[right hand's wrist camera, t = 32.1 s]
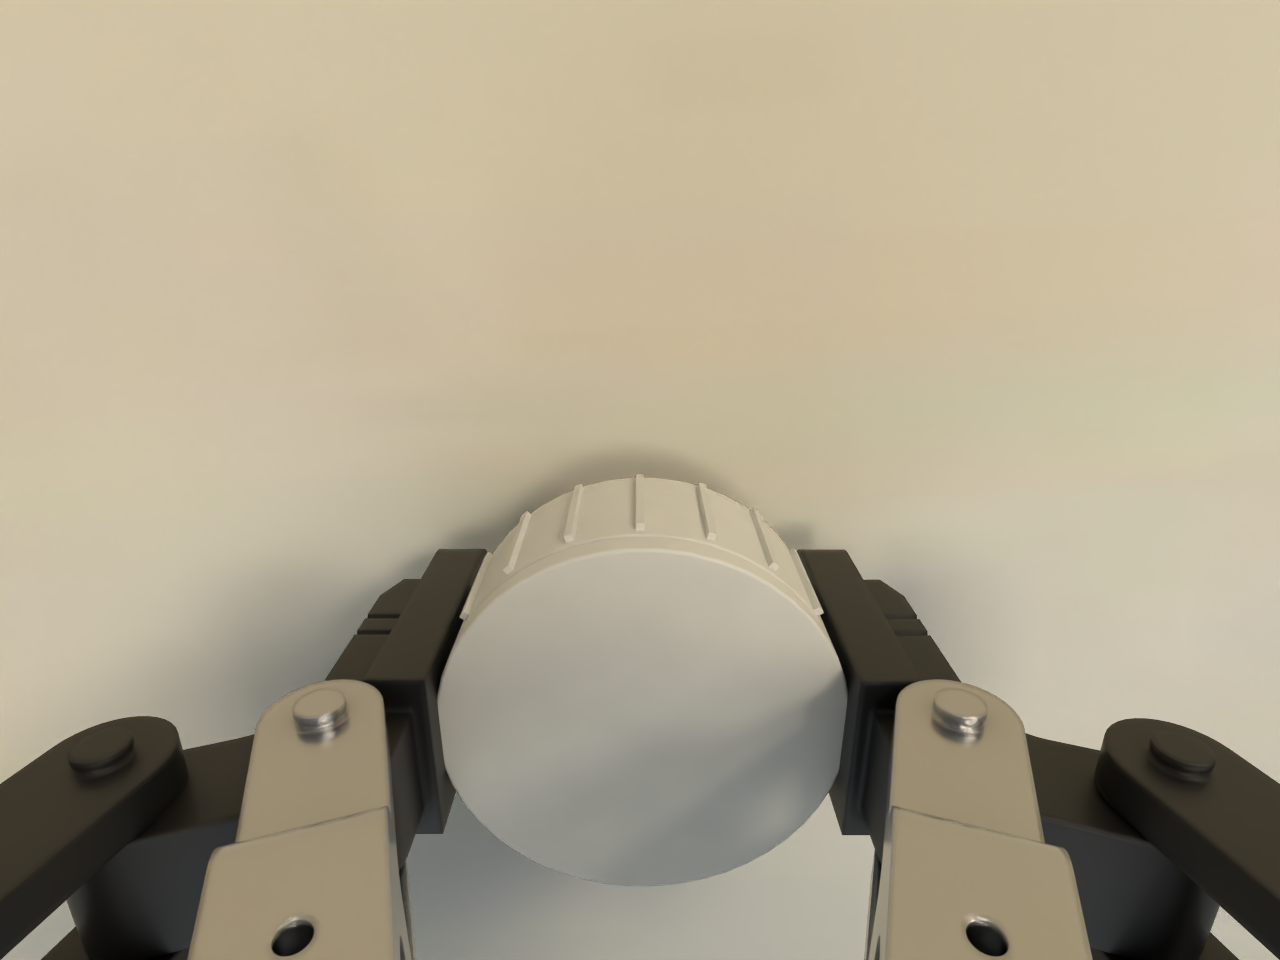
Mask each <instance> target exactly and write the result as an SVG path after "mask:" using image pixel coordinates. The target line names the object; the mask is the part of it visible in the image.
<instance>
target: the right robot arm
mask: <svg viewBox="0 0 1280 960" xmlns="http://www.w3.org/2000/svg"><path fill="white" fill-rule="evenodd" d="M797 553H798V555H799V557H800V560H801V562H802V564H803V566H804V569H805V571H806V573H807V576H808V578H809V580H810V582H811V585H812V587H813V589H814V591H815V594H816V596H817V598H818V601H819V603H820V605H821V607H822V610H823V612H824V613H823V614H821V615H820V617H821V619H822V621H823V624H824V626H825V628H826V631H827V633H828V635H829V638H830V640H831V643H832V645H833V647H834V649H835V652H836V654H837V656H838V659H839V662H840V664H841V667H842V670H843V673H844V676H845V678H846V683H847V688H848V699H847V709H846V717H845V725H844V733H843V742H842V750H841V758H840V766H839V772H838V775H837V777H836V779H835V781H834V783H833V785H832V787H831V789H830V791H829V795H830V798H831V801H832V804H833V807H834V811H835V814H836V817H837V820H838V823H839V826H840V829H841V833H842V835H870V836H871V839H872V842H873V845H874V848H875V853H874V860H873V867H872V874H871V884H870V895H869V907H868V919H867V930H866V942H865V954H864V960H1239V959H1238V958H1237V957H1236V956H1235V955H1234V954H1233V953H1231V952H1230V951H1229V950H1228V949H1227V948H1226V947H1225V946H1224V945H1223V944H1222V943H1221V942H1220V941H1219V940H1218V939H1217V938H1216V937H1215V936H1214V935H1213V934H1212V933H1211V932H1210V931H1211V928H1212V925H1213V923H1214V920H1215V917H1216V914H1217V912H1218V909H1219V906H1221V907H1222V908H1223V909H1224V910H1225V911H1226V912H1228V913H1229V914H1230V915H1231V916H1232V917H1233V918H1234V919H1235V920H1236V921H1237V922H1239V923H1240V924H1241V925H1242V926H1243V927H1244V928H1245V929H1246V930H1247V931H1248V932H1250V933H1251V934H1252V935H1253V936H1254V937H1255V938H1256V939H1257V940H1258V941H1259V942H1261V943H1262V944H1263V945H1264V946H1265V947H1266V948H1267V949H1268V950H1269V951H1270V952H1272V953H1273V954H1274V955H1275V956H1276V957H1277V958H1278V959H1279V960H1280V784H1279V783H1277V782H1276V781H1275V780H1273V779H1272V778H1270V777H1269V776H1267V775H1266V774H1265V773H1263V772H1262V771H1260V770H1259V769H1257V768H1256V767H1255V766H1253V765H1252V764H1250V763H1249V762H1247V761H1246V760H1245V759H1243V758H1242V757H1240V756H1239V755H1237V754H1236V753H1235V752H1233V751H1232V750H1230V749H1229V748H1227V747H1226V746H1224V745H1222V744H1221V743H1219V742H1217V741H1215V740H1214V739H1212V738H1210V737H1208V736H1206V735H1204V734H1201V733H1199V732H1197V731H1195V730H1192V729H1189V728H1186V727H1183V726H1180V725H1177V724H1173V723H1170V722H1165V721H1160V720H1154V719H1144V718H1134V719H1125V720H1122V721H1118V722H1116V723H1114V724H1112V725H1111V726H1110V727H1109V728H1108V729H1107V731H1106V733H1105V736H1104V739H1103V743H1102V747H1101V751H1099V750H1094V749H1089V748H1085V747H1080V746H1075V745H1070V744H1065V743H1061V742H1056V741H1051V740H1047V739H1043V738H1039V737H1035V736H1032V735H1029V734H1026V733H1025V729H1024V726H1023V723H1022V721H1021V719H1020V717H1019V716H1018V714H1017V713H1016V712H1015V711H1014V710H1013V709H1012V708H1011V707H1010V706H1009V705H1008V704H1007V703H1006V702H1004V701H1003V700H1001V699H1000V698H998V697H997V696H995V695H993V694H991V693H989V692H988V691H985V690H983V689H981V688H978V687H975V686H972V685H969V684H966V683H962V682H961V681H960V680H959V678H958V677H957V675H956V674H955V672H954V671H953V669H952V668H951V666H950V665H949V663H948V662H947V660H946V659H945V657H944V656H943V654H942V653H941V651H940V650H939V648H938V647H937V645H936V644H935V642H934V641H933V639H932V638H931V636H930V635H927V630H926V629H925V627H924V626H923V624H922V623H921V621H920V620H919V619H917V615H916V614H915V612H914V611H913V609H912V608H911V606H910V604H909V603H908V601H907V600H906V598H905V597H904V596H903V595H901V594H900V593H898V592H897V591H896V590H894V589H893V588H891V587H890V586H888V585H887V584H885V583H884V582H882V581H881V580H863V578H862V577H861V575H860V573H859V572H858V570H857V568H856V566H855V565H854V563H853V561H852V560H851V558H850V556H849V555H848V553H847V551H845V550H798V551H797ZM486 554H487V550H486V549H439V550H438V551H437V552H436V554H435V556H434V558H433V559H432V561H431V563H430V564H429V566H428V568H427V570H426V571H425V573H424V575H423V577H422V578H421V579H404V580H402V581H401V582H399V583H398V584H396V585H395V586H394V587H392V588H391V589H389V590H388V591H386V592H385V593H383V594H382V595H380V597H379V598H378V600H377V601H376V603H375V604H374V606H373V607H372V609H371V611H370V612H369V614H368V618H365V620H364V621H363V623H362V624H361V626H360V627H359V629H358V630H357V635H354V637H353V638H352V640H351V641H350V643H349V644H348V646H347V647H346V649H345V650H344V652H343V653H342V655H341V656H340V658H339V659H338V661H337V662H336V664H335V666H334V667H333V669H332V670H331V672H330V673H329V675H328V676H327V678H326V679H325V681H323V682H318V683H314V684H311V685H308V686H305V687H302V688H299V689H297V690H295V691H292V692H291V693H289V694H287V695H285V696H283V697H282V698H280V699H279V700H277V701H276V702H274V703H273V704H272V705H271V706H270V707H269V708H268V709H267V710H266V711H265V712H264V713H263V714H262V716H261V717H260V719H259V721H258V723H257V726H256V729H255V734H253V735H250V736H246V737H242V738H238V739H234V740H229V741H224V742H219V743H215V744H210V745H205V746H200V747H195V748H191V749H186V750H183V749H182V746H181V742H180V738H179V734H178V731H177V729H176V727H175V726H174V725H173V724H172V723H171V722H169V721H167V720H165V719H161V718H158V717H150V716H137V717H128V718H122V719H117V720H113V721H109V722H106V723H102V724H99V725H96V726H94V727H91V728H88V729H86V730H84V731H81V732H79V733H77V734H75V735H73V736H71V737H69V738H67V739H65V740H64V741H62V742H60V743H59V744H57V745H56V746H54V747H53V748H51V749H50V750H48V751H47V752H45V753H44V754H43V755H41V756H40V757H38V758H37V759H35V760H34V761H33V762H31V763H30V764H28V765H27V766H25V767H24V768H23V769H21V770H20V771H18V772H17V773H15V774H14V775H13V776H11V777H10V778H8V779H7V780H5V781H4V782H3V783H1V784H0V960H1V959H2V958H3V957H4V956H5V955H6V954H7V953H8V952H10V951H11V950H12V949H13V948H14V947H15V946H16V945H17V944H18V943H19V942H21V941H22V940H23V939H24V938H25V937H26V936H27V935H28V934H29V933H30V932H32V931H33V930H34V929H35V928H36V927H37V926H38V925H39V924H40V923H41V922H43V921H44V920H45V919H46V918H47V917H48V916H49V915H50V914H51V913H52V912H54V911H55V910H56V909H57V908H58V907H59V906H60V905H61V904H62V903H63V902H65V901H66V900H67V903H68V906H69V908H70V911H71V914H72V917H73V919H74V922H75V925H76V927H75V928H74V929H73V930H72V931H71V932H70V933H68V934H67V935H66V936H65V937H64V938H63V939H62V940H61V941H60V942H59V943H58V944H57V945H56V946H55V947H54V948H53V949H52V950H51V951H50V952H49V953H48V954H46V955H45V956H44V957H43V958H42V959H41V960H416V954H415V942H414V930H413V919H412V907H411V895H410V884H409V874H408V867H407V860H406V858H407V856H408V853H409V850H410V848H411V845H412V842H413V839H414V836H415V834H443V832H444V828H445V825H446V822H447V819H448V815H449V812H450V809H451V806H452V802H453V799H454V796H455V793H456V790H455V788H454V787H453V785H452V783H451V780H450V778H449V776H448V774H447V771H446V769H445V763H444V755H443V747H442V739H441V730H440V722H439V713H438V703H437V694H438V689H439V684H440V680H441V676H442V673H443V671H444V668H445V665H446V663H447V660H448V658H449V655H450V653H451V650H452V648H453V645H454V643H455V641H456V638H457V636H458V633H459V631H460V628H461V626H462V623H463V621H464V620H463V619H461V618H460V615H461V612H462V610H463V607H464V605H465V603H466V600H467V598H468V595H469V593H470V591H471V588H472V586H473V583H474V581H475V579H476V576H477V574H478V571H479V569H480V567H481V564H482V562H483V560H484V557H485V555H486Z"/></svg>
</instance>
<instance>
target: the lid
mask: <svg viewBox="0 0 1280 960" xmlns="http://www.w3.org/2000/svg"><path fill="white" fill-rule="evenodd" d="M823 613H824V612H823V610H822V607H821V605H820V603H819V601H818V598H817V596H816V594H815V591H814V589H813V587H812V585H811V582H810V580H809V578H808V576H807V573H806V571H805V569H804V566H803V564H802V562H801V560H800V557H799V555H798V553H797V551H796V550H795V548H793V549H791V550H789V549H788V548H787V546H786V545H785V544H784V542H783V541H782V540H781V539H780V537H779V536H778V535H777V534H776V533H775V532H774V531H773V530H772V529H771V528H770V527H769V526H768V525H767V524H766V523H765V522H764V521H763V520H762V518H761V515H760V513H759V511H757V510H756V509H755V508H753V509H752V510H751V511H750V510H748V509H747V508H746V507H744V506H743V505H741V504H739V503H737V502H735V501H734V500H732V499H730V498H728V497H726V496H725V495H722V494H720V493H717V492H715V491H712V490H710V489H707V487H706V484H704V483H700V482H699V483H698V485H694V484H690V483H686V482H682V481H677V480H669V479H661V478H644V474H636V478H624V479H616V480H608V481H603V482H599V483H595V484H591V485H587V486H584V487H583V486H582V484H578V485H575V486H574V490H573V491H570V492H568V493H565V494H563V495H561V496H559V497H557V498H555V499H553V500H551V501H549V502H548V503H546V504H544V505H542V506H541V507H539V508H538V509H537V510H535V511H534V512H532V513H531V514H530V513H529V512H528V511H526V512H525V513H524V514H522V516H521V518H520V521H519V524H518V525H517V526H516V527H515V528H514V529H512V530H511V531H510V532H509V533H508V535H507V536H506V537H505V538H504V540H503V541H502V542H501V543H500V545H499V546H498V547H497V548H496V550H495V551H494V553H493V554H491V553H490V552H487V554H486V555H485V557H484V560H483V562H482V564H481V567H480V569H479V571H478V574H477V576H476V579H475V581H474V583H473V586H472V588H471V591H470V593H469V595H468V598H467V600H466V603H465V605H464V607H463V610H462V612H461V615H460V618H461V619H463V620H464V621H463V623H462V626H461V628H460V631H459V633H458V636H457V638H456V641H455V643H454V645H453V648H452V650H451V653H450V655H449V658H448V660H447V663H446V665H445V668H444V671H443V673H442V676H441V680H440V684H439V689H438V694H437V703H438V713H439V722H440V730H441V739H442V747H443V755H444V763H445V769H446V771H447V774H448V776H449V778H450V780H451V783H452V785H453V787H454V788H455V790H456V791H457V793H458V795H459V796H460V798H461V799H462V801H463V803H464V804H465V805H466V807H467V808H468V809H469V810H470V811H471V813H472V814H473V815H474V816H475V817H476V818H477V820H478V821H479V822H480V823H481V824H482V825H483V826H484V827H486V828H487V829H488V830H489V831H490V832H491V833H492V834H493V835H494V836H495V837H497V838H498V839H499V840H501V841H502V842H503V843H505V844H506V845H508V846H509V847H510V848H512V849H513V850H515V851H516V852H518V853H520V854H522V855H523V856H525V857H527V858H529V859H531V860H532V861H534V862H536V863H538V864H541V865H543V866H545V867H548V868H550V869H553V870H555V871H557V872H560V873H564V874H567V875H570V876H573V877H577V878H580V879H585V880H589V881H594V882H599V883H604V884H614V885H624V886H660V885H671V884H680V883H685V882H690V881H695V880H701V879H704V878H708V877H711V876H714V875H718V874H721V873H725V872H727V871H729V870H732V869H734V868H737V867H739V866H742V865H744V864H747V863H748V862H750V861H752V860H754V859H756V858H758V857H760V856H761V855H763V854H765V853H767V852H769V851H770V850H771V849H773V848H774V847H776V846H777V845H779V844H780V843H781V842H783V841H784V840H786V839H787V838H788V837H789V836H791V835H792V834H793V833H794V832H795V831H796V830H797V829H798V828H800V827H801V826H802V825H803V824H804V823H805V822H806V821H807V820H808V818H809V817H810V816H811V815H812V814H813V813H814V812H815V810H816V809H817V808H818V807H819V806H820V804H821V803H822V801H823V800H824V798H825V797H826V795H827V794H828V792H829V791H830V789H831V787H832V785H833V783H834V781H835V779H836V777H837V775H838V772H839V766H840V758H841V750H842V742H843V733H844V725H845V717H846V709H847V699H848V688H847V683H846V678H845V676H844V673H843V670H842V667H841V664H840V662H839V659H838V656H837V654H836V652H835V649H834V647H833V645H832V643H831V640H830V638H829V635H828V633H827V631H826V628H825V626H824V624H823V621H822V619H821V617H820V615H821V614H823Z"/></svg>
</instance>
